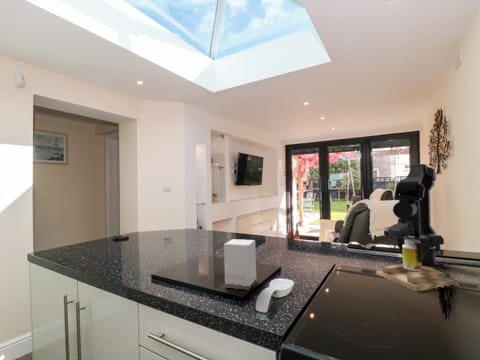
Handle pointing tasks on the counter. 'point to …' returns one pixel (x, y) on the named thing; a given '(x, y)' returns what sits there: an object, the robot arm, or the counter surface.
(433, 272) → the stand
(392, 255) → the counter surface
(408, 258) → the supplement bottle
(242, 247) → the supplement box
